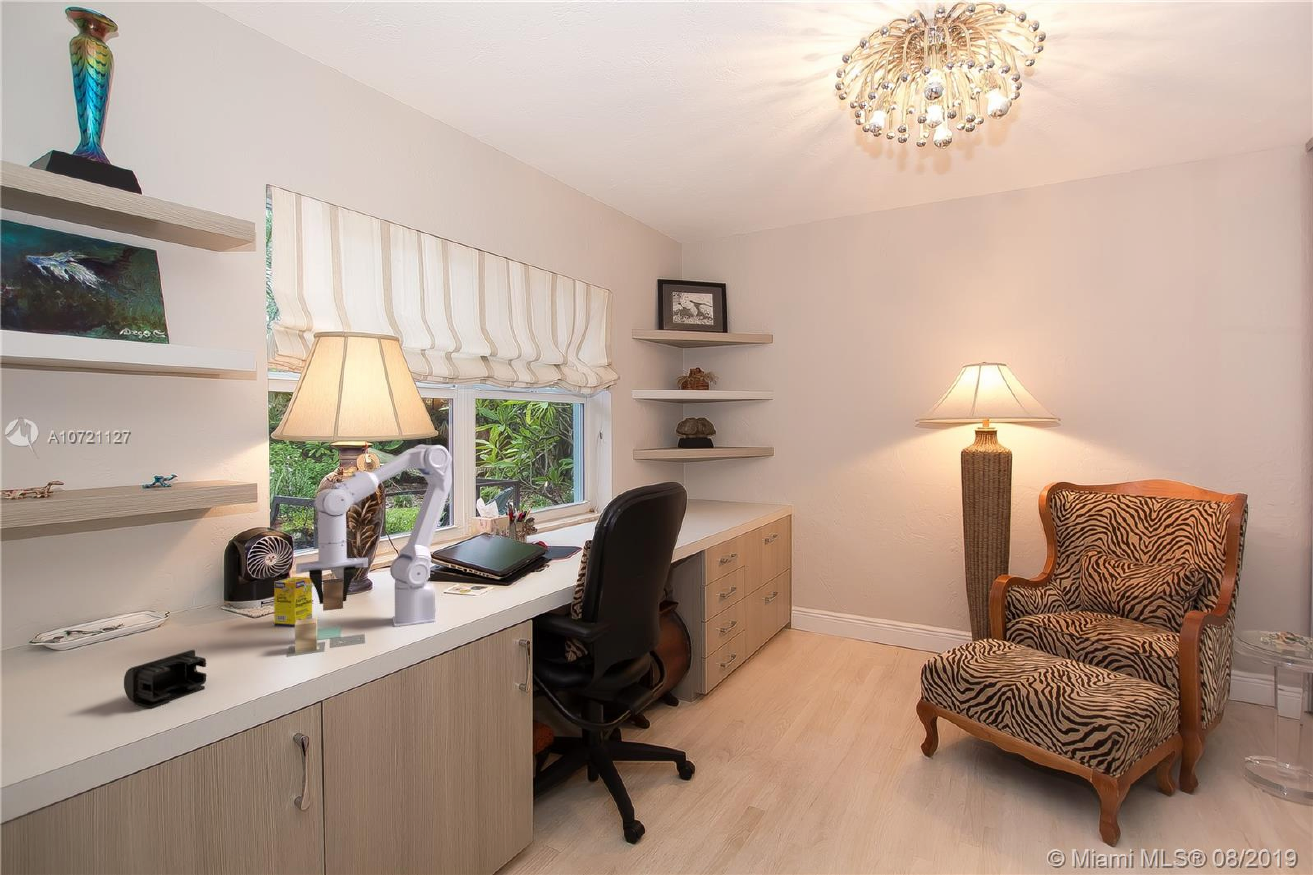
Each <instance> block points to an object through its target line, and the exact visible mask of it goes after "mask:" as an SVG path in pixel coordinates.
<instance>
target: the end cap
mask: <svg viewBox="0 0 1313 875" xmlns="http://www.w3.org/2000/svg"><path fill="white" fill-rule="evenodd" d="M197 667H200V668H206V667H207V659H206V658H205V657H201V656H196V650H195V649H190V650H189V649H188V650H187V651H182V652H180V653H177V654H173V655H170V656H165V657H164V658H160V659H156V660H153V661H149V662H145V663H142V664H139V665H136V666H132V667H130V668H128V669H127V670H126V672H125V674H124V677H123V688H124V693H125V695H126V697H127V698H128V700H129V701H130V702H132V703H133V704H134V705H135V706H137V705H138V706H137V707H140V708H143V709H147V710H153V709H156V708H160V707H162V706H164V705H166V704H167V705H168V704H170V703H171V702H173V701H176V700H178V699H180V698H184V697H187V696H189V695H193V694H195V693H198V692H201V691H203V690H205V689H206V687H205V685H204V684H206V682H207V676H208V675H207V674H206V673H205V672H200V671H198V670H197ZM161 705H162V706H161Z"/></svg>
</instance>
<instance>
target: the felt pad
mask: <svg viewBox="0 0 1313 875" xmlns="http://www.w3.org/2000/svg"><path fill="white" fill-rule="evenodd" d="M341 632H342V625H337V626H336V625H335V626H330V627H329V626H328V627H320V628H317V641H322V640H331V638H338V637H342V636H341V635H342V633H341Z"/></svg>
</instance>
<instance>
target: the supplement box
mask: <svg viewBox="0 0 1313 875" xmlns="http://www.w3.org/2000/svg"><path fill="white" fill-rule="evenodd" d="M273 585H274V588H273V589H274V594H273V595H274V598H273V599H274V602H273V603H274V609H273V610H274V612H273V613H274V627H287V628H288V627H289V628H295V623H296V620H301V619H309V618H313V582H312V581H311V579H310V577H309V576H291V577H287V578H283V579H280V580H276V581H274V584H273Z"/></svg>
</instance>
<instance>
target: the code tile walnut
mask: <svg viewBox="0 0 1313 875" xmlns="http://www.w3.org/2000/svg"><path fill="white" fill-rule="evenodd" d="M365 635H366V634H365V633H362V634H361V633H360V634H354V635H346V636H341V637H338V638H331V639H329V640H330V642H329V643H330V644H329V649H332V648H333V649H334V648H339V647H340V648H341V647H347V646H355V645H356V646H357V645H362V644H366V637H365Z"/></svg>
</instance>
